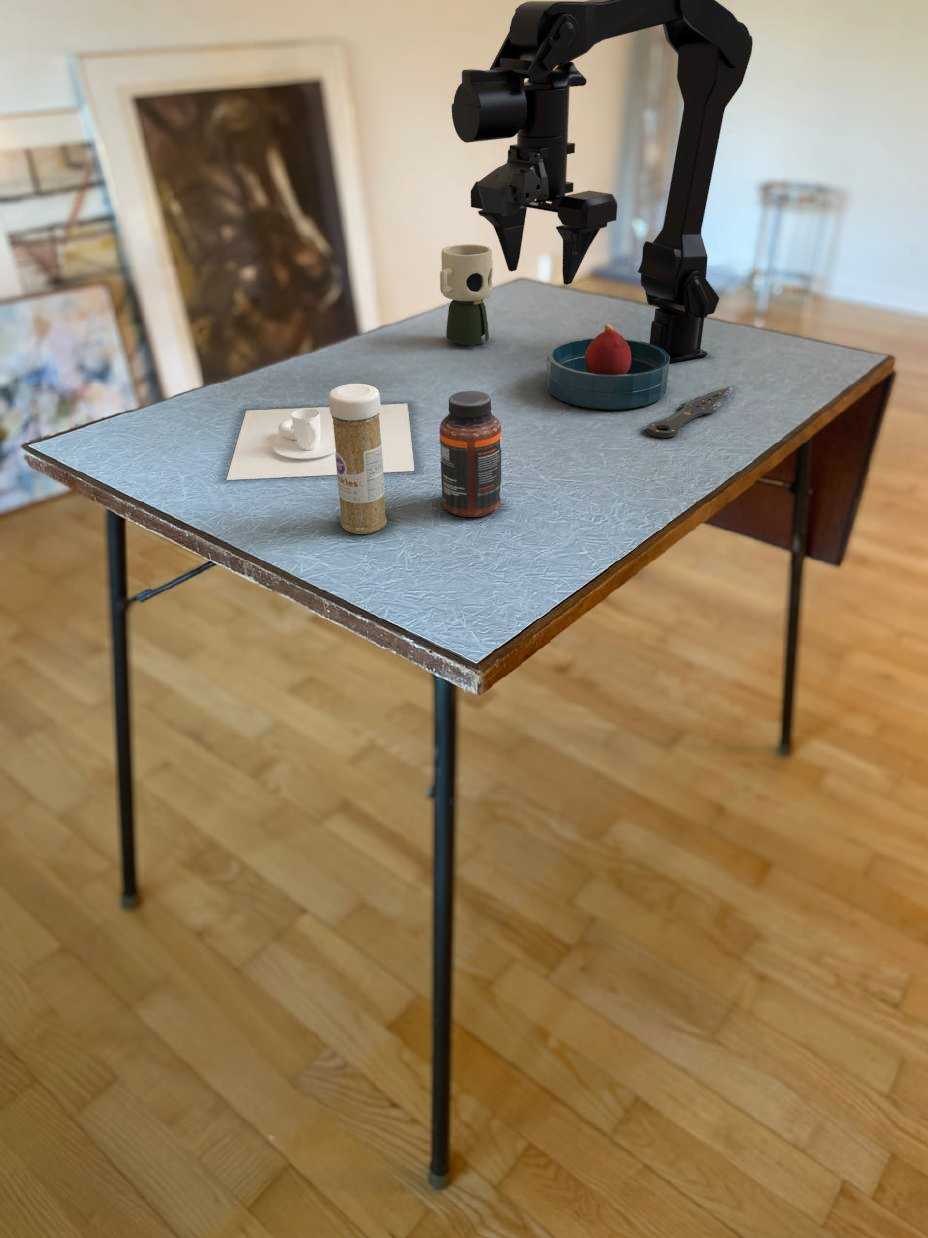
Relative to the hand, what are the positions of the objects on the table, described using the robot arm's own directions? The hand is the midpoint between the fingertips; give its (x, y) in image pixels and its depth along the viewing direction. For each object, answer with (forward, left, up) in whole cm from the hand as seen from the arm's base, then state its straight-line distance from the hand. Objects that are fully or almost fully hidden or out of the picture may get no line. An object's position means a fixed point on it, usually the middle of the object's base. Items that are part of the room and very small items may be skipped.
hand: (539, 277), depth 114 cm
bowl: (-7, +5, -14) cm, 17 cm away
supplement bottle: (+22, +27, -14) cm, 38 cm away
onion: (-7, +5, -14) cm, 16 cm away
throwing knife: (-13, +17, -14) cm, 25 cm away
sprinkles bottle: (+33, +26, -14) cm, 44 cm away
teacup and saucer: (+30, +4, -14) cm, 33 cm away
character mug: (0, -21, -14) cm, 25 cm away
